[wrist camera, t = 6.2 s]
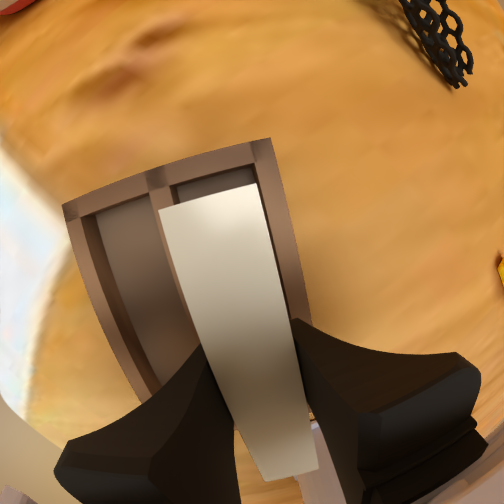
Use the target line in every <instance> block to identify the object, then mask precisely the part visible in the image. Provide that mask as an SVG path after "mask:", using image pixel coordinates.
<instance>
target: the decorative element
mask: <svg viewBox="0 0 504 504" xmlns="http://www.w3.org/2000/svg"><path fill="white" fill-rule="evenodd" d="M436 1H438V2H439V3H440V5H441V7H442V9H443V10H442V12H441V14H440V15H438V14H437V13H436V12H435V11H434V10H433V9H432V8H431V7H430V5H429V3H430V2H431V0H410V3H409V2H408V1H407V0H399V2H400V3H401V5H402V7H403V10H404V13H405V15H406V17H407V19H408V21H409V23H410V24H411V26H412V27H413V29H414V30H415V32H416V33H417V35H418V36H419V38H420V39H421V42H422V44H423V46H424V48H425V50H426V52H427V53H428V54H429V56H430V57H431V59H432V60H433V62H434V63H435V64H436V66H437V67H438V68H439V70H440V71H441V73H442V74H443V75H444V77H445V78H446V80H447V81H448V82H449V84H450V85H451V86H452V85H453V87H454V88H455V89H458V88H459V87H460V86H459V84H458V82H460V83H461V84H462V85H463V86H464V87H466V86H467V85H468V83H467V81H466V80H465V79H464V78H463V76H464V74H463V69H465V70H466V72H467V74H470V75H471V74H473V73H472V68H473V64H474V62H473V56H472V53H471V51H470V50H469V48H468V47H467V46H465V45H464V44H463V41H462V38H461V35H462V32H463V24H462V21H461V19H460V17H459V16H458V15H457V14H456V13H455V12H453V11H451V10H450V9H449V8H448V6H447V4H446V0H436ZM421 9H422V10H424V11H426V16H425V18H424V19H423V18H421V16H420V11H421ZM448 15H450V16H451V17H453V18H454V19H455V21H456V23H457V28H456V30H455V31H454V30H452V29H450V28H449V26H448V24H447V22H446V18H447V17H448ZM431 20H433V22H432V24H430V23H431ZM440 23H441V25H442V27H443V30H442V32H441V33H438V32H437V31H438V29H439V27H440ZM424 30H425V31H426V32H428V37H426V36H425V34H424V32H423V31H424ZM448 34H451V35H452V36H454V37H455V39H456V41H457V44H458V45H457V47H456V49H454V48H452V47H450V46H449V44H448V42H447V40H446V37H447V36H448ZM440 48H442V49H444V50H443V52H441V51H440ZM462 51H465V52H466V55H467V59H468V61H467V64H466V63H464V61H463V59H462V56H461V53H462ZM448 56H450V59H449V57H448ZM457 61H458V67H456V63H457Z"/></svg>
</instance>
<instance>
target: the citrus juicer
mask: <svg viewBox="0 0 504 504" xmlns="http://www.w3.org/2000/svg"><path fill="white" fill-rule="evenodd" d="M34 1H35V0H0V15H9V14H13V13H15V12H17V11H19V10H21V9H23V8H25V7H26V6H28V5H29V4H31V3H32V2H34Z"/></svg>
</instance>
